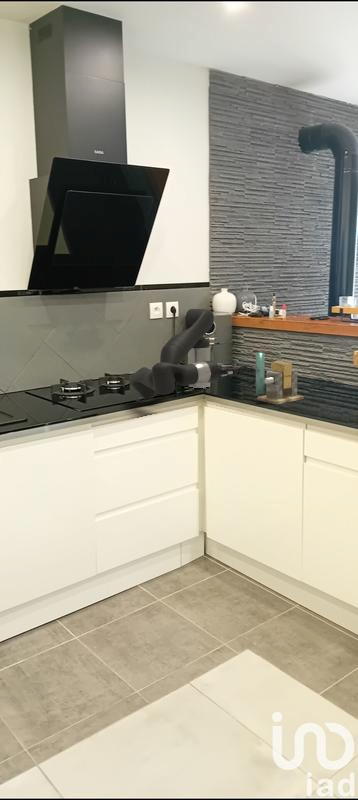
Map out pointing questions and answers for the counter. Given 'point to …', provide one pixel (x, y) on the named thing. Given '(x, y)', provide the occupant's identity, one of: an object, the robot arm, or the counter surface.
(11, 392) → the counter surface
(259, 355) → the shaft
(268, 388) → the frame
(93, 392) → the counter surface
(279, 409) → the counter surface
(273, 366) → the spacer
